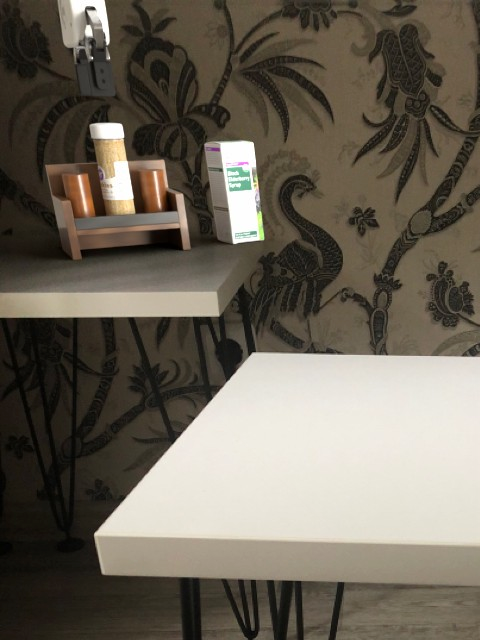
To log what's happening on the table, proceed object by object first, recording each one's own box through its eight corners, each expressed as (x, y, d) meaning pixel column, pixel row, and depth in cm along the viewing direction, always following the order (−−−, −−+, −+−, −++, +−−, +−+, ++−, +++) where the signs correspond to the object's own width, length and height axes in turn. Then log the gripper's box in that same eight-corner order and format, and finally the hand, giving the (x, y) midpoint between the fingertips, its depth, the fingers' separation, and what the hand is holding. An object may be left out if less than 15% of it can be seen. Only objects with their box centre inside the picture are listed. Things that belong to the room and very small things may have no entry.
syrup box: (233, 244, 145) (221, 142, 138) (216, 240, 149) (203, 141, 142) (265, 240, 148) (254, 140, 141) (247, 236, 152) (236, 139, 145)
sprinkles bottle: (100, 223, 139) (82, 123, 132) (125, 219, 142) (108, 122, 135) (120, 225, 136) (102, 124, 130) (144, 221, 140) (128, 122, 133)
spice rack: (73, 260, 134) (55, 170, 128) (62, 250, 142) (45, 165, 136) (191, 249, 141) (178, 164, 135) (174, 240, 149) (162, 159, 143)
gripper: (35, -45, 127) (60, 95, 135) (54, -61, 114) (80, 96, 122) (91, -42, 130) (112, 95, 139) (116, -56, 117) (137, 96, 125)
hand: (97, 95), depth 130 cm, fingers open, 9 cm apart
